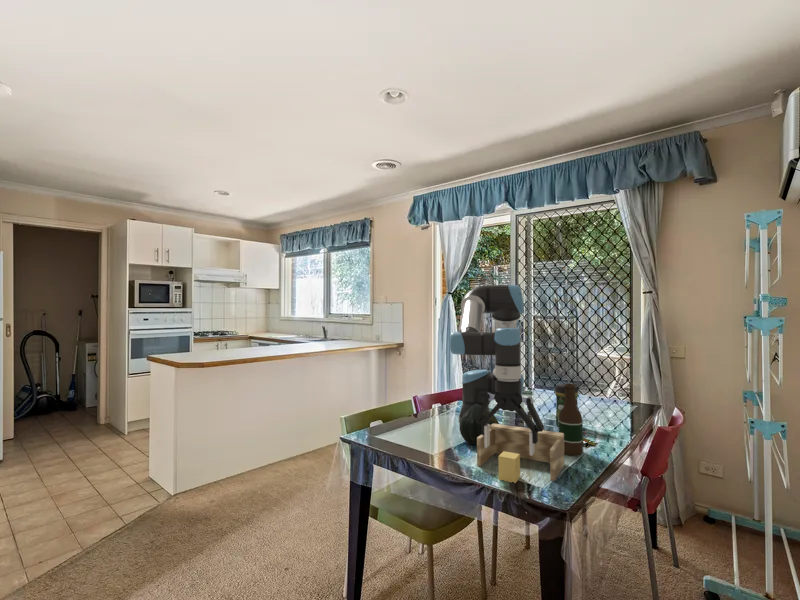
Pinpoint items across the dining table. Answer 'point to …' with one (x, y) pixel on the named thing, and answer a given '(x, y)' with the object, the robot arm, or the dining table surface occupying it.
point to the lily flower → (587, 440)
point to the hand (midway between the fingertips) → (508, 450)
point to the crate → (523, 446)
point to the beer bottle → (571, 423)
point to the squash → (473, 424)
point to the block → (509, 466)
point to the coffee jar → (562, 399)
